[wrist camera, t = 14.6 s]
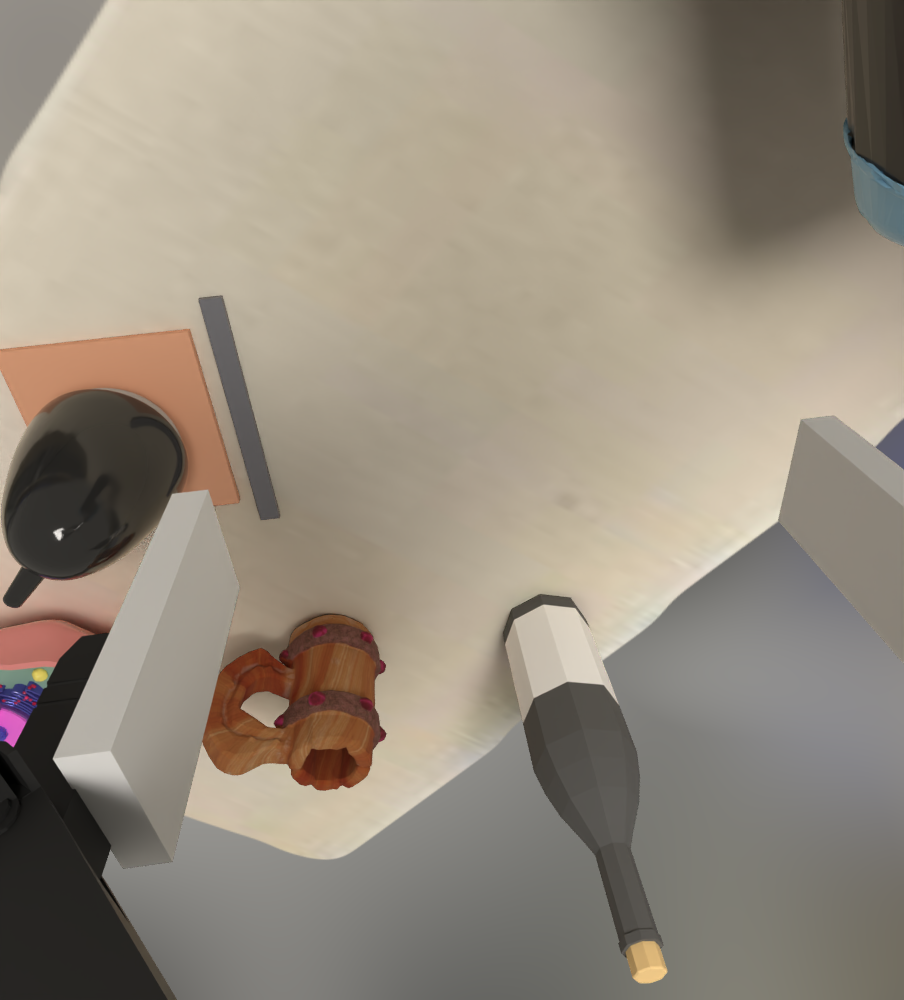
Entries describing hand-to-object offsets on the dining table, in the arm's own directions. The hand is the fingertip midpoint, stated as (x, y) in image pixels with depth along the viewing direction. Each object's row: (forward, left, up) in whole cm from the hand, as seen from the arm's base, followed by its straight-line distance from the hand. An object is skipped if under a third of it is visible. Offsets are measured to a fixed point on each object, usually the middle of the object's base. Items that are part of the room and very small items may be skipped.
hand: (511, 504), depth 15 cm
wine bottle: (-8, +38, -35) cm, 52 cm away
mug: (+14, +35, -35) cm, 51 cm away
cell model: (+35, +35, -35) cm, 60 cm away
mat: (+23, +13, -35) cm, 44 cm away
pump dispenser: (+23, +13, -34) cm, 43 cm away
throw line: (+15, +13, -35) cm, 40 cm away
